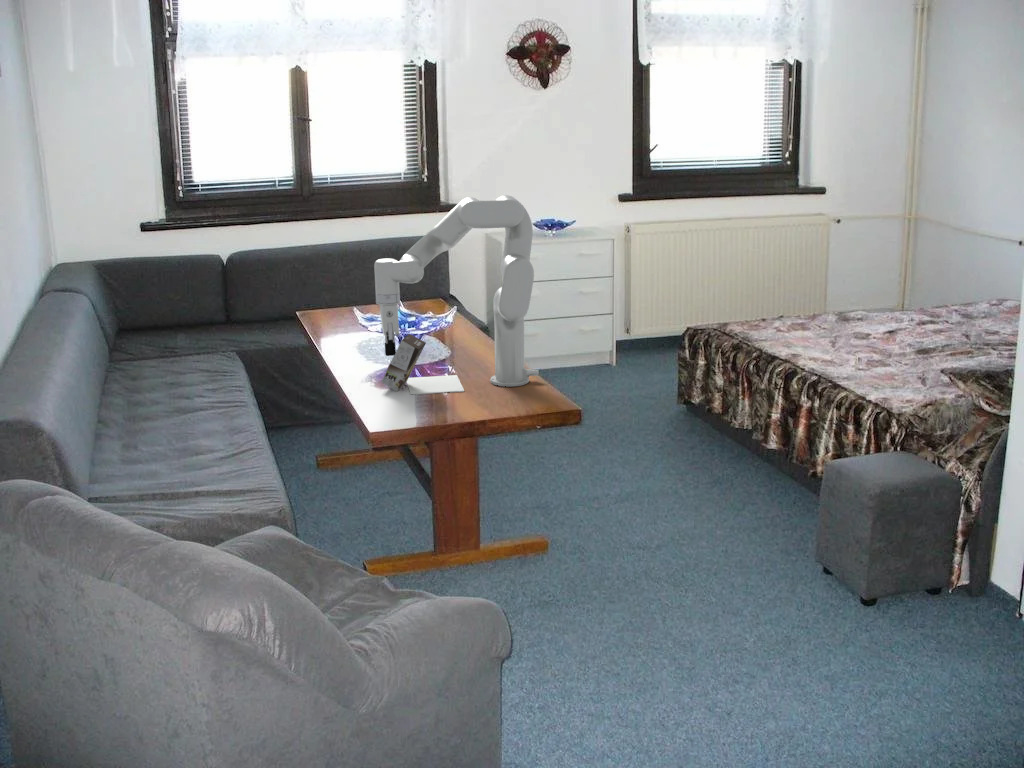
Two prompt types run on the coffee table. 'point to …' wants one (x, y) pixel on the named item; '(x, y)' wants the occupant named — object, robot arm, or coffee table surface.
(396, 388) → the coffee box
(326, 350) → the coffee table surface
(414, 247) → the robot arm
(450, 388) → the flat white panel
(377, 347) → the coffee table surface
